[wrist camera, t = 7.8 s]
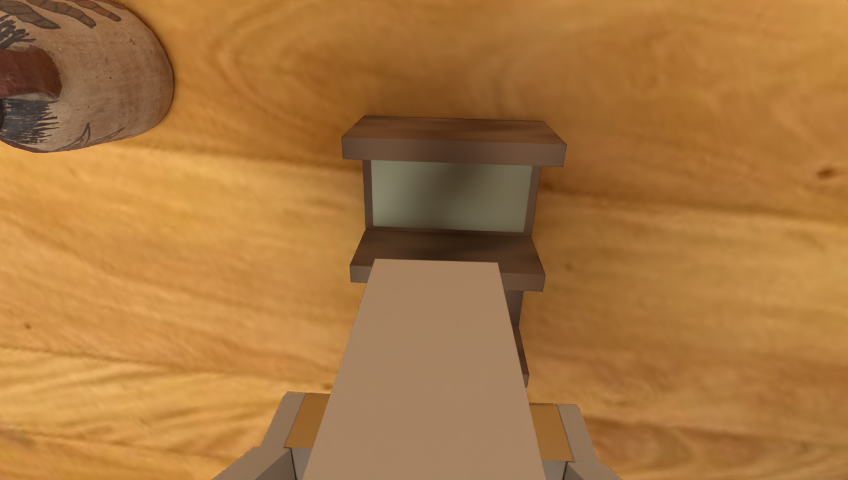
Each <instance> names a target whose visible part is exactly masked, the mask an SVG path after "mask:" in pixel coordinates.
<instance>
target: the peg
mask: <svg viewBox="0 0 848 480" xmlns="http://www.w3.org/2000/svg"><path fill="white" fill-rule="evenodd" d="M302 480H546V479H545V474H544V470H543V465H542V461H541V456H540V452H539V447H538V443H537V438H536V434H535V429H534V425H533V420H532V416H531V411H530V407H529V402H528V398H527V393H526V389H525V384H524V380H523V375H522V371H521V366H520V362H519V357H518V353H517V348H516V344H515V339H514V335H513V330H512V326H511V321H510V317H509V312H508V308H507V303H506V298H505V294H504V289H503V285H502V280H501V276H500V271H499V267H498V263H490V262H459V261H427V260H396V259H375V261H374V264H373V267H372V270H371V273H370V276H369V279H368V282H367V285H366V288H365V291H364V294H363V297H362V300H361V303H360V306H359V309H358V312H357V315H356V318H355V321H354V324H353V327H352V331H351V334H350V337H349V340H348V343H347V346H346V349H345V352H344V355H343V358H342V361H341V364H340V367H339V370H338V373H337V376H336V379H335V382H334V385H333V388H332V391H331V394H330V397H329V400H328V403H327V406H326V410H325V413H324V416H323V419H322V422H321V425H320V428H319V431H318V434H317V437H316V440H315V443H314V446H313V449H312V452H311V455H310V458H309V461H308V464H307V467H306V470H305V473H304V476H303V479H302Z"/></svg>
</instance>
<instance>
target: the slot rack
mask: <svg viewBox="0 0 848 480" xmlns="http://www.w3.org/2000/svg"><path fill="white" fill-rule="evenodd" d="M566 147H567V144H566V143H565V142H564V141H563V140H562V139H561V138H560V137H559V136H558V135H557V134H556V133H555V132H554V131H553V130H552V129H551V128H550V127H549V126H548V125H547V124H546V123H545V122H544V121H516V120H483V119H451V118H419V117H387V116H364V117H362V118H361V119H360V120H359V121H358V122H357V123H356V124H355V125H354V126H353V127H352V128H351V129H350V130H349V131H348V132H347V133H346V134H344V135H343V136H342V152H343V159H354V160H363V181H364V204H365V227H366V230H365V232H364V234H363V237H362V239H361V241H360V243H359V246H358V248H357V250H356V252H355V255H354V257H353V259H352V261H351V264H350V278H351V282H358V283H367V282H368V279H369V276H370V273H371V270H372V267H373V264H374V261H375V259H396V260H427V261H459V262H490V263H498V267H499V271H500V276H501V280H502V285H503V289H504V294H505V298H506V303H507V308H508V312H509V317H510V321H511V326H512V330H513V335H514V339H515V344H516V348H517V353H518V357H519V362H520V366H521V371H522V375H523V380H524V384H525V388H527V385H528V379H529V372H528V367H527V363H526V358H525V354H524V349H523V344H522V340H521V335H520V331H519V319H520V312H521V305H522V298H523V291H540V292H543V287H544V281H545V272H544V269H543V267H542V264H541V262H540V259H539V256H538V254H537V251H536V248H535V246H534V243H533V240H532V238H531V234H532V227H533V220H534V213H535V206H536V199H537V192H538V185H539V178H540V171H541V166H549V167H563V165H564V159H565V153H566Z"/></svg>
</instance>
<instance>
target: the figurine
mask: <svg viewBox="0 0 848 480" xmlns="http://www.w3.org/2000/svg"><path fill="white" fill-rule="evenodd" d="M173 89H174V83H173V72H172V68H171V65H170V63H169V60H168V58H167V55H166V53H165V50H164V49H163V47H162V46H161V44H160V43H159V41H158V39H157V38H156V36H155V35H154V33H153V32H152V31H151V30H150V29H149V28H148V27H147V26H146V25H145V24H144V23H143V22H142V21H141V20H140V19H139V18H138V17H137V16H135V15H134V14H133V13H131V12H130V11H129V10H127V9H126V8H125V7H123V6H121V5H118V4H116V3H113V2H110V1H107V0H0V140H1V141H3V142H4V143H6V144H8V145H10V146H13V147H16V148H19V149H23V150H27V151H30V152H34V153H48V152H61V151H70V150H76V149H81V148H85V147H90V146H94V145H98V144H102V143H107V142H112V141H117V140H122V139H127V138H131V137H135V136H137V135H139V134H142V133H144V132H146V131H148V130H150V129H151V128H153V127H155V126H156V125H157V124H158V123H159V122H160V121H161V120H162V119H163V117H164V116H165V115H166V113H167V111H168V109H169V107H170V104H171V102H172V96H173Z"/></svg>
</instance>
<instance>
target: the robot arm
mask: <svg viewBox="0 0 848 480" xmlns="http://www.w3.org/2000/svg"><path fill="white" fill-rule="evenodd" d="M329 397H330V394H323V393H303V392H289V391H288V392H287V393H286V394H285V395H284V396H283V398H282V400H281V402H280V404H279V407H278V409H277V411H276V413H275V415H274V417H273V420H272V422H271V424H270V426H269V428H268V431H267V433H266V435H265V437H264V439H263V441H262V444H261V446H260V447H253V448H252V449H250V450H249V451H248V452H247V453H245V454H244V455H243V456H242V457H240V458H239V459H238V460H236V461H235V462H234V463H233V464H231V465H230V466H229V467H227V468H226V469H225V470H224V471H222V472H221V473H220V474H218V475H217V476H216V477H215V478H213V479H212V480H302V479H303V476H304V473H305V470H306V467H307V464H308V461H309V458H310V455H311V452H312V449H313V446H314V443H315V440H316V437H317V434H318V431H319V428H320V425H321V422H322V419H323V416H324V413H325V410H326V406H327V403H328V400H329ZM529 407H530V411H531V416H532V420H533V425H534V429H535V434H536V438H537V443H538V447H539V452H540V456H541V461H542V465H543V470H544V474H545V479H546V480H622V479H621V478H620V477H619V476H618V475H617V474H616V473H615V472H614V471H613V470H612V469H611V468H610V467H608V466H607V465H606V464H599V461H598V458H597V455H596V453H595V450H594V447H593V444H592V442H591V439H590V436H589V433H588V431H587V428H586V425H585V422H584V419H583V417H582V414H581V411H580V408H579V407H578V406H577V405H576V404H553V403H529Z"/></svg>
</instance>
